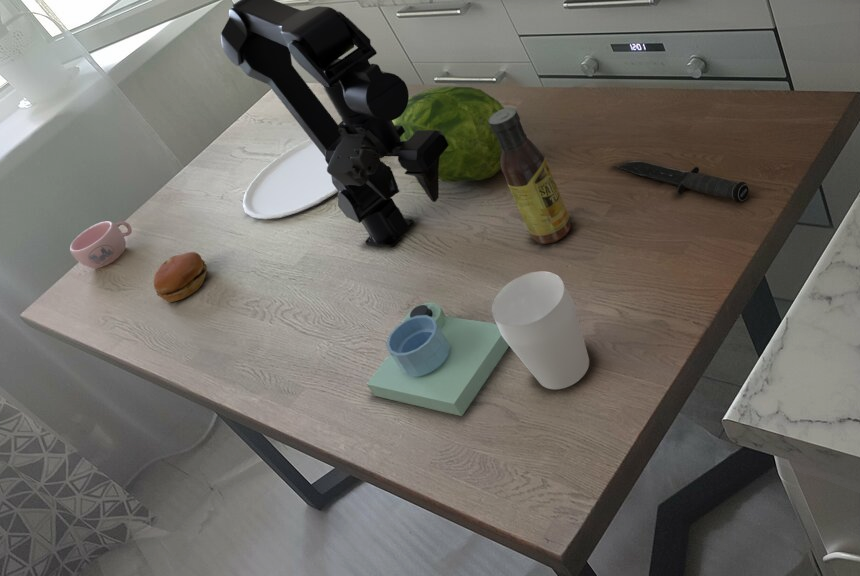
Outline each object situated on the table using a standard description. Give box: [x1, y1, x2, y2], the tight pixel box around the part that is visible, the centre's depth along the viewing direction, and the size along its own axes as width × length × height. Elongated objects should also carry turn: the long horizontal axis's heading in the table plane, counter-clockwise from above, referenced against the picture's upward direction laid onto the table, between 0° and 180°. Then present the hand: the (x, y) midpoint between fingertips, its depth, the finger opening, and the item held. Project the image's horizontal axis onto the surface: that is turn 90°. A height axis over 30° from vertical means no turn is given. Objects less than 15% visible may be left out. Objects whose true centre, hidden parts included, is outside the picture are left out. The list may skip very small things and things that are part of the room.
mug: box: [69, 220, 133, 269], centre depth 171 cm, size 12×10×6 cm
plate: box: [242, 138, 338, 220], centre depth 167 cm, size 29×29×1 cm
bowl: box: [385, 315, 450, 376], centre depth 107 cm, size 7×7×4 cm
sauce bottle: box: [489, 107, 572, 245], centre depth 117 cm, size 7×6×20 cm
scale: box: [366, 301, 510, 417], centre depth 109 cm, size 15×14×4 cm
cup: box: [490, 270, 590, 390], centre depth 98 cm, size 9×9×12 cm
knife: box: [616, 160, 750, 203], centre depth 121 cm, size 24×5×3 cm, turn 36°
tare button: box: [410, 304, 432, 318], centre depth 112 cm, size 3×3×1 cm
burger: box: [152, 251, 208, 303], centre depth 150 cm, size 10×9×5 cm
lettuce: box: [392, 86, 505, 183], centre depth 142 cm, size 15×27×16 cm, turn 52°
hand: (411, 199), depth 120 cm, fingers open, 9 cm apart
